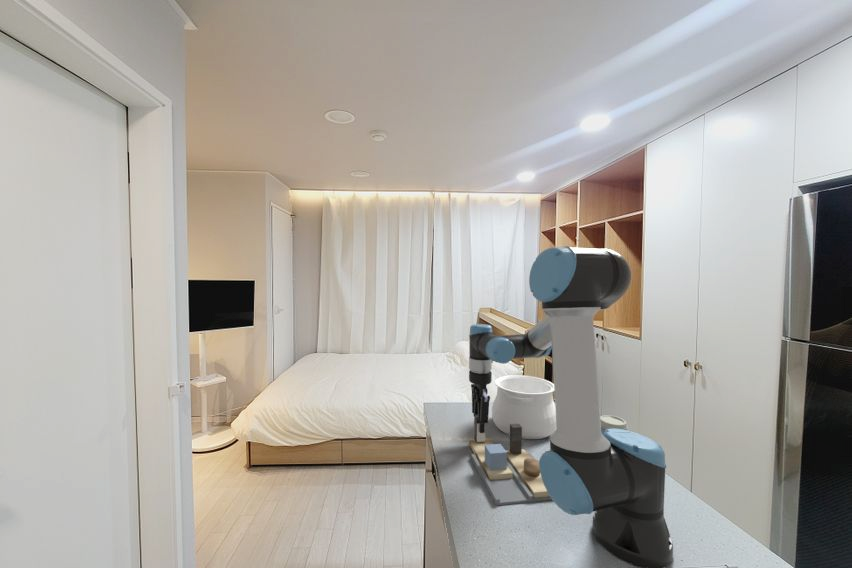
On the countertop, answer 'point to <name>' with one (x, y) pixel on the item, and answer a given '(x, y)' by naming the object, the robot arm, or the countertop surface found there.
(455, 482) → the countertop surface
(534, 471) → the brown rounded piece
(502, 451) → the blue block
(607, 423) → the coffee cup
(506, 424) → the pot
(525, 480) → the strip
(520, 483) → the lane board
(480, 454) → the strip
